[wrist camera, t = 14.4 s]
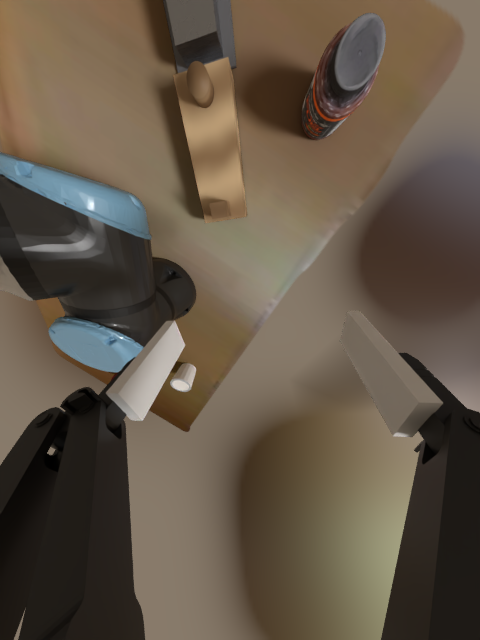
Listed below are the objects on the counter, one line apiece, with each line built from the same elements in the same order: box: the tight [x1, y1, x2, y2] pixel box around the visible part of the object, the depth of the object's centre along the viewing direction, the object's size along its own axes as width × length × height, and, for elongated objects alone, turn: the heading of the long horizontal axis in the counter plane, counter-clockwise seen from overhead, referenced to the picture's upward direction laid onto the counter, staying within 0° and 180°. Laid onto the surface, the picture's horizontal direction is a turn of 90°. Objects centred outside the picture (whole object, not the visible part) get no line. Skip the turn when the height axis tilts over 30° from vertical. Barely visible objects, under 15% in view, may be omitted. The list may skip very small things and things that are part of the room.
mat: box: [163, 0, 236, 73], centre depth 20 cm, size 8×10×1 cm
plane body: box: [173, 57, 247, 223], centre depth 25 cm, size 16×7×8 cm, turn 8°
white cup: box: [170, 363, 196, 392], centre depth 57 cm, size 7×7×7 cm
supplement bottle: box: [301, 13, 386, 140], centre depth 19 cm, size 6×6×11 cm
